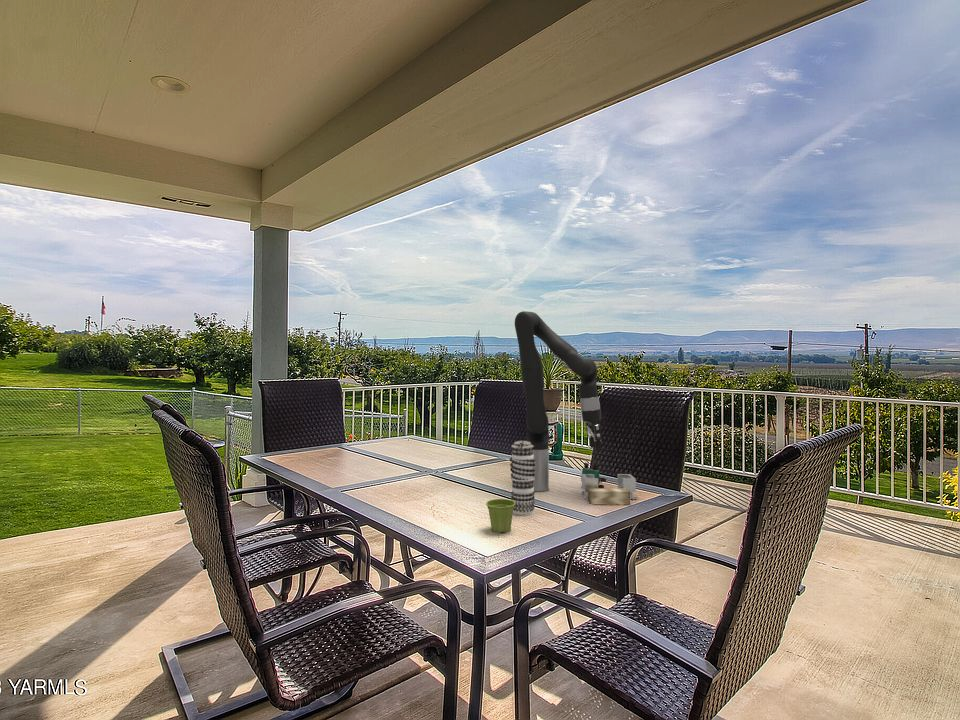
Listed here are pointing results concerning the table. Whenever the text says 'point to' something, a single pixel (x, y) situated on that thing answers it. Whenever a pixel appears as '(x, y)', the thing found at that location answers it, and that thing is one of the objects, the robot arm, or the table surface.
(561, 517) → the table surface
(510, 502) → the plant pot
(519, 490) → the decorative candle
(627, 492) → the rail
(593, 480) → the cup bracket
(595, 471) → the binoculars
